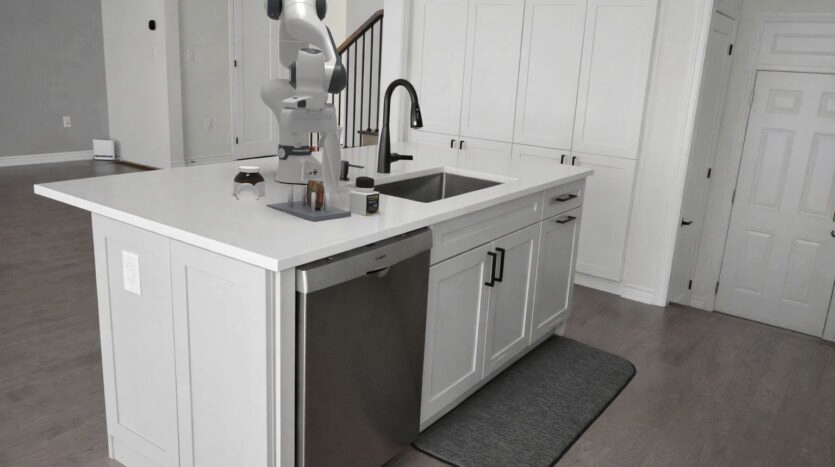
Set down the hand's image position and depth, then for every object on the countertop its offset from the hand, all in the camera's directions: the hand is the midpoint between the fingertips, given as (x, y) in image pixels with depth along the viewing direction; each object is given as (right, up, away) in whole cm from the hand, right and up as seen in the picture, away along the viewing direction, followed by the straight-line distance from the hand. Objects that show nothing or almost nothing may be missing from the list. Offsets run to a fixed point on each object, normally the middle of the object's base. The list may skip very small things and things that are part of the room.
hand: (309, 147), depth 197 cm
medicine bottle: (+16, -21, +9) cm, 28 cm away
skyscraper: (+2, -14, +37) cm, 39 cm away
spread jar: (-24, -16, +18) cm, 34 cm away
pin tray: (-1, -20, +5) cm, 21 cm away
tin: (+1, -19, +7) cm, 20 cm away
